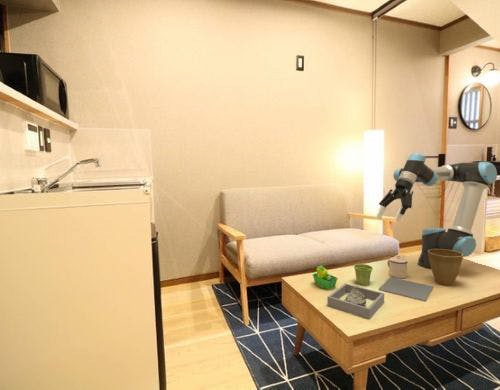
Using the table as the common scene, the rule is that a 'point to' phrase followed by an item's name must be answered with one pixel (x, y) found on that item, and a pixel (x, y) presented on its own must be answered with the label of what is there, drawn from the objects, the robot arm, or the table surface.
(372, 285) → the table surface
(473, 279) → the table surface
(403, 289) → the charcoal mat
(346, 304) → the rock display frame
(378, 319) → the table surface
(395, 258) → the teacup with lid
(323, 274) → the fruit basket
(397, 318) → the table surface
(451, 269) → the plant pot
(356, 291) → the rock sample
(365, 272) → the plant pot
